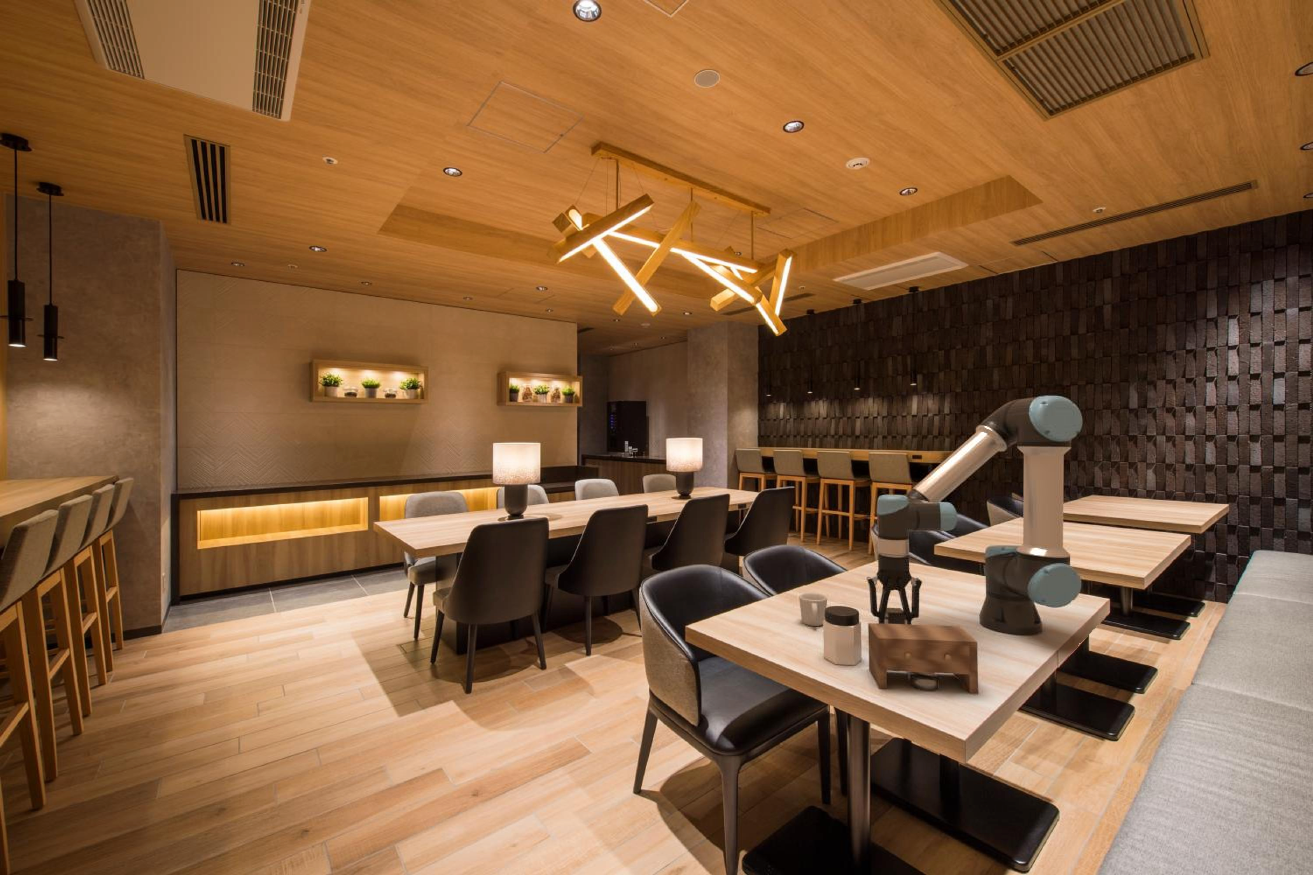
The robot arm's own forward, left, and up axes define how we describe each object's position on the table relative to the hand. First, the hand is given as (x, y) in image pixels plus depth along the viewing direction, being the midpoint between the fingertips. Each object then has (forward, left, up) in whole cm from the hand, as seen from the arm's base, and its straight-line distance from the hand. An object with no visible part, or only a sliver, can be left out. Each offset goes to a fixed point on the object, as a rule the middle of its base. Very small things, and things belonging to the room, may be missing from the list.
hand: (895, 643), depth 145 cm
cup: (+19, -14, -1) cm, 24 cm away
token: (0, +24, -1) cm, 24 cm away
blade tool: (0, +7, 0) cm, 8 cm away
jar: (+15, +11, -1) cm, 18 cm away
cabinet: (0, +22, -1) cm, 22 cm away
